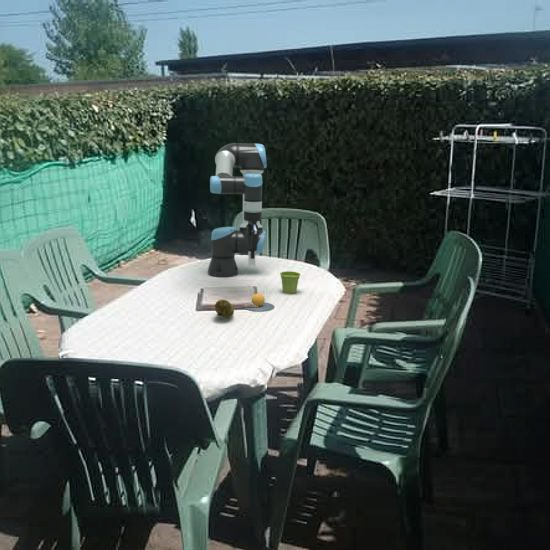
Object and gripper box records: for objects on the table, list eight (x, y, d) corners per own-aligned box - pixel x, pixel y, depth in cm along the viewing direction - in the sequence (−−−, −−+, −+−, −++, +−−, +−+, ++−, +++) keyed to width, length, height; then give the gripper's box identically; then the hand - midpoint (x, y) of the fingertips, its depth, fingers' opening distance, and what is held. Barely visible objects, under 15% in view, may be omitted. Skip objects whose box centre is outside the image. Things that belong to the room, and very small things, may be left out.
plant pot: (300, 290, 271) (301, 271, 269) (299, 295, 262) (300, 276, 260) (280, 288, 272) (280, 270, 269) (278, 294, 263) (279, 275, 260)
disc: (237, 304, 246) (237, 304, 246) (264, 300, 253) (264, 300, 253) (252, 313, 235) (252, 312, 235) (280, 309, 242) (280, 308, 242)
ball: (249, 307, 244) (248, 295, 246) (261, 308, 247) (260, 295, 248) (255, 304, 240) (254, 291, 241) (267, 304, 242) (266, 291, 244)
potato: (241, 314, 234) (241, 295, 232) (227, 324, 222) (227, 303, 220) (222, 311, 237) (222, 292, 235) (207, 320, 225) (207, 300, 223)
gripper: (240, 209, 253) (240, 262, 258) (247, 213, 240) (246, 269, 246) (257, 208, 255) (256, 261, 260) (265, 213, 242) (263, 268, 248)
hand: (251, 265), depth 253 cm, fingers closed
